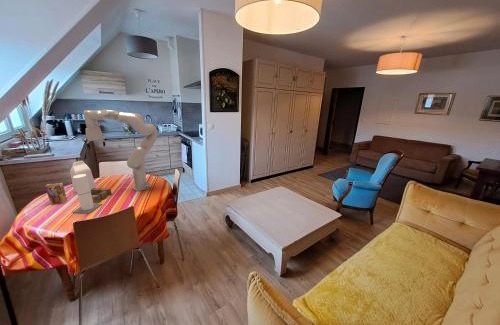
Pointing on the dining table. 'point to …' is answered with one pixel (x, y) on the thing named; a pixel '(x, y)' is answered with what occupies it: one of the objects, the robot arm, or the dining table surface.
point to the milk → (82, 169)
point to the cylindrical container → (83, 191)
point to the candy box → (56, 193)
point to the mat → (87, 210)
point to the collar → (100, 194)
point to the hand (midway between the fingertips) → (97, 147)
